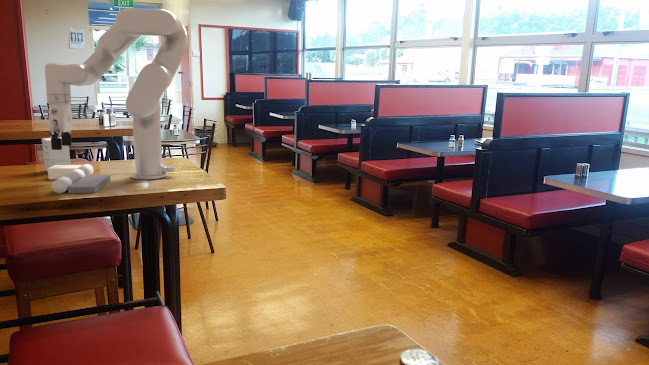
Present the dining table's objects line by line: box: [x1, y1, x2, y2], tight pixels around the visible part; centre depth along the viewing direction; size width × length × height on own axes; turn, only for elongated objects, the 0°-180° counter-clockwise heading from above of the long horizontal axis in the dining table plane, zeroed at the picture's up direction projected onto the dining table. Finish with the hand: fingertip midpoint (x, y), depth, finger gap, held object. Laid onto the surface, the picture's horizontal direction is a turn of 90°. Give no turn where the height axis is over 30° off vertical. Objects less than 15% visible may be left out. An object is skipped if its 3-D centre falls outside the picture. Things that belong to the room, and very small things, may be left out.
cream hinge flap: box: [47, 163, 95, 180], centre depth 178 cm, size 13×6×4 cm, turn 99°
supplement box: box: [41, 136, 72, 173], centre depth 188 cm, size 7×7×13 cm
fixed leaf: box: [51, 169, 111, 194], centre depth 164 cm, size 13×18×4 cm
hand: (61, 147), depth 176 cm, fingers open, 9 cm apart
